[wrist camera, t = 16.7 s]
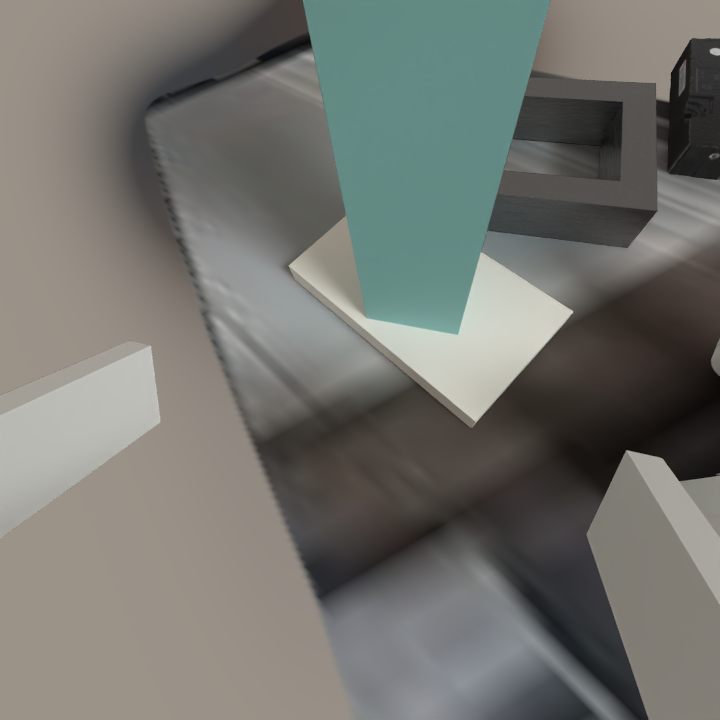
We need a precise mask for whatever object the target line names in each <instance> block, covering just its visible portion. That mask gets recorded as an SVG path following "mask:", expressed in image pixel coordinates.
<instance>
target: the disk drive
mask: <svg viewBox="0 0 720 720" xmlns="http://www.w3.org/2000/svg"><path fill="white" fill-rule="evenodd" d="M669 102H670V118H669V139H668V153H669V154H668V173H669V174H678V175H685V176H691V177H696V178H704V179H714V180H718V179H720V39H710V38H708V39H696V38H693V39H691V40H690V41H689V43H688V45H687V47H686V48H685V50H684V52H683V53H682V55H681V57H680V58H679V60H678V62H677V64H676V65H675V67H674V69H673V70H672V72H671V86H670V97H669Z"/></svg>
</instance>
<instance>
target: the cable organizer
mask: <svg viewBox="0 0 720 720" xmlns="http://www.w3.org/2000/svg"><path fill="white" fill-rule="evenodd" d="M711 365H712V368H713V370H714V371H715V372H716V373H717V374H718V375H719V376H720V339H719V341H718V344H717V346H716V349H715V351H714V353H713V356H712V359H711ZM715 475H720V473H718V474H715ZM679 482H680V483H681V485H682V486H683V488H684V489H685V490H686V492H687V493H688V494H689V496H690V497H691V499H692V500H693V501H694V503H695V504H696V505H697V507H698V508H699V510H700V511H701V512H702V514H703V515H704V517H705V518H706V519H707V521H708V522H709V523H710V525H711V526H712V528H713V529H714V530H715V532H716V533H717V534H718V536H719V537H720V476H715V477H708V478H701V479H693V480H686V481H679Z"/></svg>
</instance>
